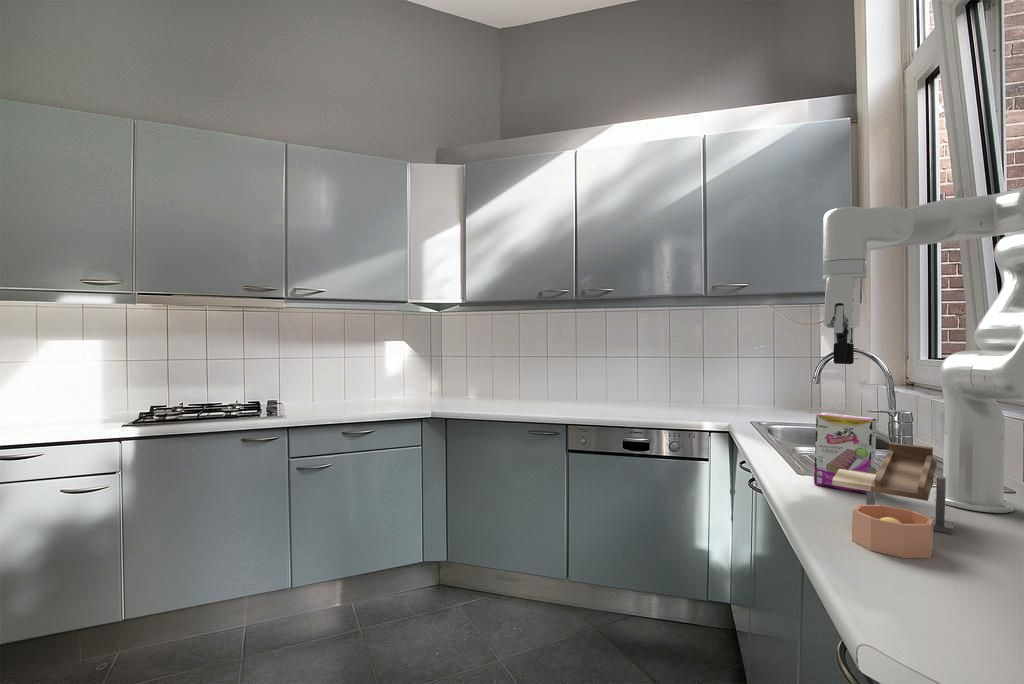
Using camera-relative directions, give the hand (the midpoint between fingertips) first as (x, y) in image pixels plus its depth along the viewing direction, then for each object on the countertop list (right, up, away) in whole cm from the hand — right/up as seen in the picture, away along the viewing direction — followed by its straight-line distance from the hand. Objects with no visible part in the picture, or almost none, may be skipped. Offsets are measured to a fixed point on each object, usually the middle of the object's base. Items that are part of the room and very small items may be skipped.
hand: (843, 363), depth 108 cm
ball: (-6, -25, -22) cm, 34 cm away
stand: (+6, -29, -8) cm, 30 cm away
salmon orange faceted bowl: (-5, -28, -20) cm, 35 cm away
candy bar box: (+9, -29, +15) cm, 34 cm away
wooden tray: (+4, -24, -6) cm, 25 cm away
